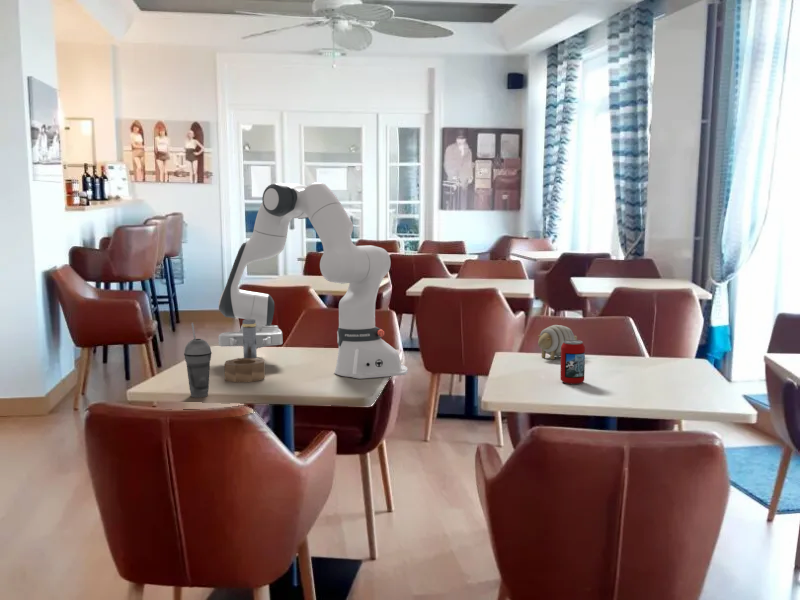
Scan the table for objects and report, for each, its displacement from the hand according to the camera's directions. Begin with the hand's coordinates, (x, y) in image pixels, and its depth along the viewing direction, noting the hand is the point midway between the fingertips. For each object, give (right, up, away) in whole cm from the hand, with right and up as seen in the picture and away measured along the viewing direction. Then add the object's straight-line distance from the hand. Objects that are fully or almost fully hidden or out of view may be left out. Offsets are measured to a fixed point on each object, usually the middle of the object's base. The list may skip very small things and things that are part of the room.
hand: (249, 342), depth 237 cm
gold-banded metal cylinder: (0, -9, +2) cm, 9 cm away
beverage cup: (-8, -13, -30) cm, 34 cm away
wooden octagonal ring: (0, -10, -9) cm, 14 cm away
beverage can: (+97, -11, -18) cm, 99 cm away
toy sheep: (+100, -6, +19) cm, 102 cm away
